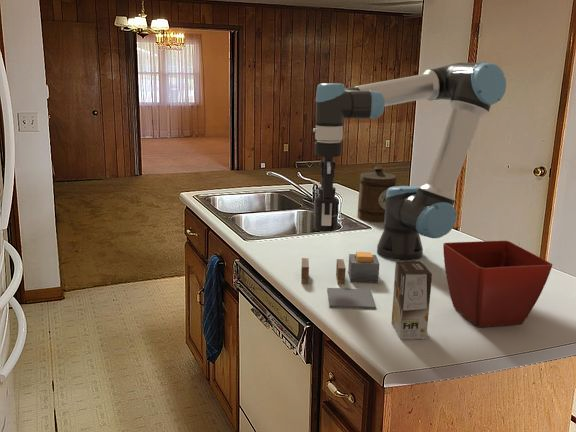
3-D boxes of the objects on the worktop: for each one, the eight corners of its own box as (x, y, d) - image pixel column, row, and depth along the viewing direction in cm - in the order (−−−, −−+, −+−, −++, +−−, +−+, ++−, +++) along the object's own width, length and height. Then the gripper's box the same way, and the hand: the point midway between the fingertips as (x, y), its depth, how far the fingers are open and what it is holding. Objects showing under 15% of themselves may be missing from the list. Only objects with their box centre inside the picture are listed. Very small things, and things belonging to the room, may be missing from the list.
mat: (370, 291, 155) (370, 289, 155) (376, 308, 144) (376, 306, 144) (327, 289, 156) (327, 287, 155) (329, 307, 144) (329, 305, 144)
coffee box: (427, 339, 128) (433, 274, 124) (400, 340, 127) (405, 274, 123) (415, 322, 137) (420, 260, 133) (389, 322, 136) (394, 260, 132)
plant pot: (544, 330, 135) (555, 264, 130) (472, 335, 131) (481, 268, 126) (499, 298, 153) (507, 239, 148) (435, 303, 149) (441, 242, 144)
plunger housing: (374, 273, 169) (375, 254, 167) (378, 283, 161) (379, 263, 160) (348, 272, 169) (349, 254, 168) (350, 282, 161) (351, 263, 160)
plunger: (369, 271, 167) (370, 252, 165) (371, 276, 163) (372, 256, 161) (354, 270, 167) (356, 251, 165) (356, 276, 163) (357, 256, 161)
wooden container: (387, 224, 224) (391, 170, 219) (352, 219, 230) (355, 166, 225) (397, 216, 237) (401, 165, 232) (363, 211, 243) (366, 161, 238)
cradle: (342, 275, 167) (343, 259, 166) (344, 284, 159) (345, 268, 158) (301, 273, 167) (301, 257, 166) (301, 283, 160) (301, 267, 158)
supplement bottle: (335, 232, 156) (337, 190, 153) (311, 231, 157) (312, 189, 154) (338, 226, 162) (340, 185, 159) (315, 224, 163) (316, 184, 160)
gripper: (313, 136, 163) (311, 212, 169) (315, 145, 144) (313, 231, 150) (339, 136, 163) (336, 213, 168) (345, 146, 143) (341, 231, 149)
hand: (325, 221), depth 159 cm, fingers closed on supplement bottle, 7 cm apart
